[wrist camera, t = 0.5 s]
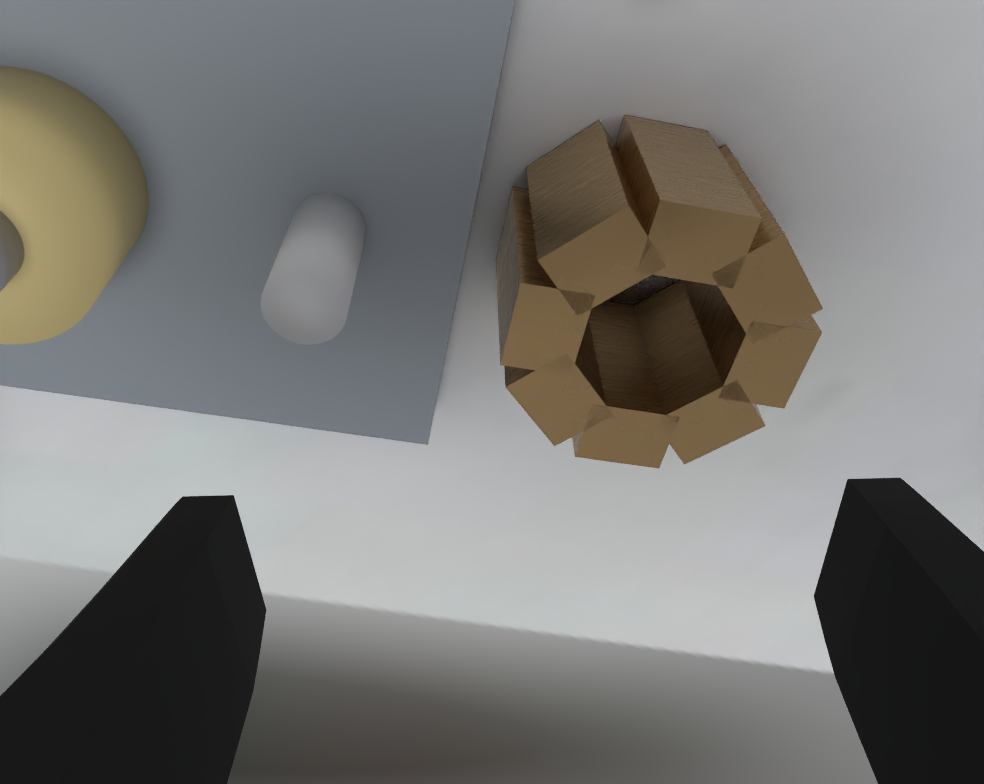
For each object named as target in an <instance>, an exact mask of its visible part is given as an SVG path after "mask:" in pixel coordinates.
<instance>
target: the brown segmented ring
mask: <svg viewBox="0 0 984 784" xmlns="http://www.w3.org/2000/svg"><path fill="white" fill-rule="evenodd" d="M526 170H527V179H528V187H529V190H528V189H523V188H517V187H512V190H511V194H510V199H509V204H508V208H507V213H506V217H505V222H504V226H503V231H502V235H501V240H500V244H499V249H498V253H497V258H496V271H497V295H498V319H499V343H500V365H503V366H505V384H506V388H507V389H508V390H509V392H510V393H511V394H512V395H513V397H514V398H515V399H516V400H517V401H518V403H519V404H520V405H521V406H522V407H523V409H524V410H525V411H526V412H527V413H528V415H529V416H530V417H531V418H532V420H533V421H534V422H535V423H536V424H537V426H538V427H539V428H540V429H541V430H542V432H543V433H544V434H545V435H546V436H547V438H548V439H549V440H550V441H551V442H552V444H553V445H554V446H555V445H557V444H559V443H561V442H563V441H565V440H567V439H569V438H571V437H572V439H573V446H574V453H575V457H582V458H589V459H596V460H603V461H610V462H617V463H624V464H632V465H639V466H646V467H653V468H659V467H660V465H661V462H662V460H663V457H664V455H665V453H666V450H667V448H668V445H669V444H670V445H671V446H672V448H673V449H674V451H675V452H676V453H677V455H678V456H679V458H680V459H681V460H682V462H683V463H684V464H686V463H688V462H690V461H692V460H694V459H697V458H699V457H701V456H703V455H705V454H707V453H709V452H711V451H713V450H715V449H718V448H720V447H722V446H724V445H726V444H728V443H730V442H732V441H734V440H736V439H739V438H741V437H743V436H745V435H747V434H749V433H751V432H753V431H755V430H757V429H760V428H762V427H764V426H765V424H764V422H763V419H762V417H761V415H760V412H759V410H758V408H757V406H756V404H759V405H766V406H772V407H779V408H784V407H785V405H786V403H787V401H788V399H789V397H790V395H791V393H792V391H793V389H794V387H795V385H796V383H797V381H798V379H799V377H800V375H801V373H802V371H803V369H804V367H805V365H806V363H807V361H808V359H809V357H810V355H811V353H812V351H813V349H814V347H815V345H816V343H817V341H818V339H819V337H820V335H821V333H822V332H821V330H820V328H819V327H818V325H817V323H816V322H815V320H814V319H813V317H812V315H811V314H813V313H815V312H817V311H819V310H821V309H823V308H822V306H821V304H820V302H819V300H818V298H817V296H816V295H815V293H814V291H813V289H812V287H811V285H810V283H809V281H808V279H807V277H806V275H805V273H804V271H803V269H802V267H801V265H800V263H799V261H798V260H797V258H796V256H795V254H794V252H793V250H792V248H791V246H790V244H789V242H788V240H787V238H786V236H785V234H784V233H783V231H782V230H781V228H780V226H779V225H778V223H777V222H776V220H775V219H774V217H773V216H772V214H771V213H770V211H769V210H768V208H767V206H766V205H765V203H764V202H763V200H762V199H761V197H760V196H759V194H758V193H757V191H756V190H755V188H754V186H753V185H752V183H751V182H750V180H749V179H748V177H747V176H746V174H745V173H744V171H743V170H742V168H741V166H740V165H739V163H738V162H737V160H736V159H735V157H734V156H733V154H732V153H731V151H730V150H729V148H728V146H727V145H724V146H723V147H721V148H719V149H718V147H717V145H716V144H715V142H714V141H713V139H712V137H711V136H710V134H709V133H708V131H705V130H700V129H695V128H689V127H684V126H679V125H674V124H669V123H664V122H658V121H653V120H648V119H643V118H638V117H633V116H627V115H625V116H624V119H623V122H622V126H621V129H620V133H619V136H618V140H617V143H616V147H615V145H614V143H613V142H612V140H611V139H610V137H609V135H608V134H607V132H606V130H605V129H604V127H603V125H602V124H601V122H600V120H599V121H597V122H596V123H594V124H593V125H591V126H589V127H588V128H586V129H585V130H583V131H582V132H580V133H578V134H577V135H575V136H574V137H572V138H571V139H569V140H568V141H566V142H564V143H563V144H561V145H560V146H558V147H557V148H555V149H554V150H552V151H550V152H549V153H547V154H546V155H544V156H543V157H541V158H540V159H538V160H536V161H535V162H533V163H532V164H530V165H529V166H527V167H526ZM650 275H657V276H663V277H669V278H675V279H681V280H680V281H678V282H676V283H674V284H672V285H671V286H669V287H667V288H665V289H663V290H662V291H660V292H658V293H656V294H654V295H653V296H651V297H649V298H647V299H645V300H643V301H642V302H640V303H638V304H636V305H629V304H623V303H616V302H610V301H606V300H608V299H609V298H611V297H613V296H615V295H617V294H618V293H620V292H622V291H624V290H625V289H627V288H629V287H631V286H633V285H634V284H636V283H638V282H640V281H641V280H643V279H645V278H647V277H649V276H650Z"/></svg>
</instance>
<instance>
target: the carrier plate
mask: <svg viewBox="0 0 984 784" xmlns="http://www.w3.org/2000/svg"><path fill="white" fill-rule="evenodd" d="M514 3H515V0H0V385H2V386H10V387H17V388H24V389H31V390H38V391H46V392H53V393H60V394H67V395H74V396H82V397H89V398H96V399H103V400H110V401H117V402H125V403H132V404H139V405H146V406H153V407H161V408H168V409H175V410H182V411H189V412H197V413H204V414H211V415H218V416H225V417H233V418H240V419H247V420H254V421H261V422H269V423H276V424H283V425H290V426H297V427H305V428H312V429H319V430H326V431H333V432H341V433H348V434H355V435H362V436H369V437H377V438H384V439H391V440H398V441H405V442H413V443H420V444H427V445H428V441H429V436H430V431H431V426H432V420H433V415H434V410H435V405H436V400H437V395H438V390H439V385H440V380H441V375H442V370H443V364H444V359H445V354H446V349H447V344H448V339H449V334H450V329H451V324H452V319H453V314H454V308H455V303H456V298H457V293H458V288H459V283H460V278H461V273H462V268H463V263H464V258H465V252H466V247H467V242H468V237H469V232H470V227H471V222H472V217H473V212H474V207H475V202H476V197H477V191H478V186H479V181H480V176H481V171H482V166H483V161H484V156H485V151H486V146H487V141H488V135H489V130H490V125H491V120H492V115H493V110H494V105H495V100H496V95H497V90H498V85H499V79H500V74H501V69H502V64H503V59H504V54H505V49H506V44H507V39H508V34H509V29H510V23H511V18H512V13H513V8H514Z"/></svg>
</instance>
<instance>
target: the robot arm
mask: <svg viewBox="0 0 984 784" xmlns="http://www.w3.org/2000/svg"><path fill="white" fill-rule="evenodd" d="M814 599H815V603H816V607H817V611H818V615H819V619H820V623H821V627H822V630H823V634H824V638H825V642H826V646H827V649H828V653H829V656H830V660H831V664H832V667H833V671H834V674H835V677H836V680H837V683H838V685H839V687H840V690H841V693H842V695H843V698H844V701H845V703H846V705H847V708H848V710H849V713H850V715H851V718H852V721H853V723H854V725H855V728H856V731H857V733H858V736H859V738H860V740H861V743H862V745H863V747H864V750H865V753H866V755H867V758H868V760H869V762H870V765H871V767H872V770H873V772H874V775H875V777H876V780H877V782H878V784H984V552H983V551H982V550H981V549H980V548H979V547H978V546H977V545H976V544H974V543H973V542H972V541H971V540H970V539H969V538H968V537H967V536H966V535H964V534H963V533H962V532H961V531H960V530H959V529H958V528H957V527H956V526H954V525H953V524H952V523H951V522H950V521H949V520H948V519H947V518H946V517H944V516H943V515H942V514H941V513H940V512H939V511H938V510H937V509H936V508H934V507H933V506H932V505H931V504H930V503H929V502H928V501H927V500H925V499H924V498H923V497H922V496H921V495H920V494H919V493H917V492H916V491H915V490H914V489H913V488H912V487H911V486H909V485H908V484H907V483H906V482H905V481H904V480H902V479H901V478H874V479H848V480H847V483H846V487H845V490H844V494H843V497H842V500H841V504H840V507H839V511H838V514H837V518H836V521H835V525H834V528H833V532H832V535H831V539H830V542H829V546H828V549H827V552H826V556H825V559H824V563H823V566H822V570H821V573H820V577H819V580H818V584H817V587H816V591H815V594H814ZM265 614H266V607H265V604H264V601H263V597H262V593H261V590H260V586H259V583H258V579H257V576H256V572H255V569H254V565H253V562H252V558H251V555H250V551H249V548H248V544H247V541H246V537H245V533H244V530H243V526H242V523H241V519H240V516H239V512H238V509H237V505H236V502H235V498H234V495H228V496H190V497H182V498H181V499H180V500H179V501H178V502H177V503H176V504H175V505H174V506H173V507H172V508H171V510H170V511H169V512H168V513H167V514H166V515H165V516H164V517H163V519H162V520H161V521H160V522H159V523H158V524H157V525H156V527H155V528H154V529H153V530H152V531H151V532H150V533H149V535H148V536H147V537H146V538H145V539H144V540H143V542H142V543H141V544H140V545H139V546H138V547H137V549H136V550H135V551H134V552H133V553H132V554H131V555H130V557H129V558H128V559H127V560H126V561H125V562H124V563H123V565H122V566H121V567H120V568H119V569H118V570H117V571H116V573H115V574H114V575H113V576H112V577H111V578H110V580H109V581H108V582H107V583H106V584H105V585H104V586H103V588H102V589H101V590H100V591H99V592H98V593H97V594H96V595H95V596H94V598H93V599H92V600H91V601H90V602H89V603H88V604H87V605H86V606H85V607H84V609H83V610H82V611H81V612H80V613H79V614H78V615H77V616H76V617H75V618H74V619H73V621H72V622H71V623H70V624H69V625H68V626H67V627H66V628H65V629H64V630H63V631H62V633H61V634H60V635H59V636H58V637H57V638H56V639H55V640H54V642H52V644H51V645H50V646H49V647H48V648H47V649H46V650H45V651H44V652H43V653H42V654H41V655H40V656H39V657H38V658H37V660H35V661H34V662H33V663H32V664H31V665H30V666H29V667H28V668H27V669H26V671H24V673H23V674H22V675H21V676H20V677H19V678H18V679H17V680H16V681H15V682H14V683H13V684H12V685H11V686H10V687H9V688H8V689H7V690H6V691H5V692H4V693H3V694H2V695H1V696H0V784H227V781H228V777H229V774H230V771H231V767H232V764H233V760H234V757H235V753H236V750H237V746H238V743H239V740H240V736H241V733H242V729H243V725H244V722H245V718H246V715H247V711H248V707H249V704H250V700H251V697H252V693H253V689H254V683H255V677H256V672H257V666H258V660H259V654H260V648H261V641H262V634H263V628H264V621H265Z"/></svg>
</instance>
